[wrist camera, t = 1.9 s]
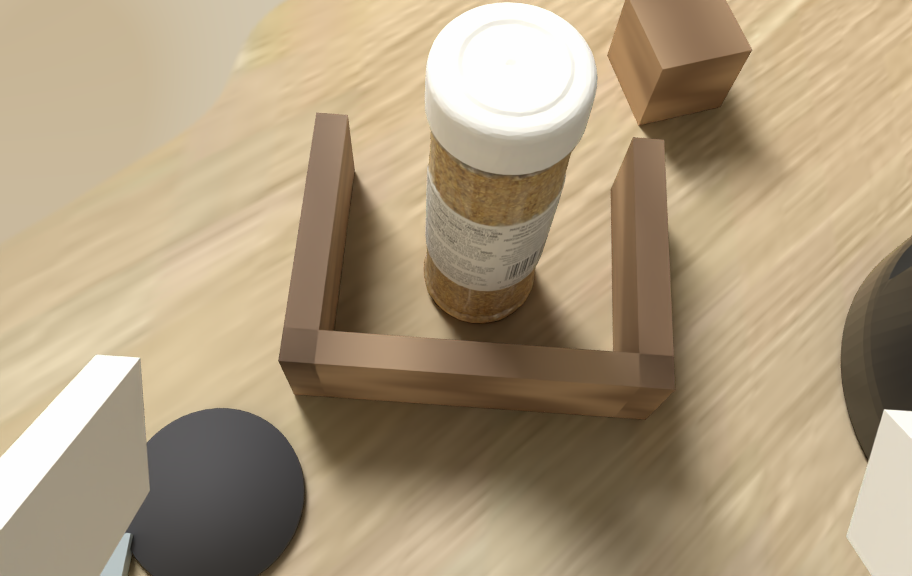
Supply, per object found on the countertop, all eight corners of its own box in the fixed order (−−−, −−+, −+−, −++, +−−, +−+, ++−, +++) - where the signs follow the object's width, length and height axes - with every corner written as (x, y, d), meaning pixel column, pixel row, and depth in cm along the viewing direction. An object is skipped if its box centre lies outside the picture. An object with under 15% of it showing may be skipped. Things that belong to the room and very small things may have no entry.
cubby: (638, 192, 36) (664, 139, 32) (645, 419, 32) (675, 389, 28) (326, 167, 36) (316, 112, 32) (294, 394, 32) (278, 360, 28)
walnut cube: (685, 39, 40) (713, -23, 36) (719, 107, 38) (752, 49, 34) (606, 56, 39) (626, -6, 35) (638, 126, 37) (662, 69, 34)
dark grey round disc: (315, 416, 31) (314, 414, 31) (291, 597, 29) (290, 597, 29) (143, 404, 31) (141, 402, 31) (104, 585, 29) (101, 584, 28)
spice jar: (493, 208, 35) (536, -30, 23) (555, 293, 34) (636, 89, 22) (400, 258, 34) (393, 37, 22) (460, 348, 33) (488, 167, 20)
